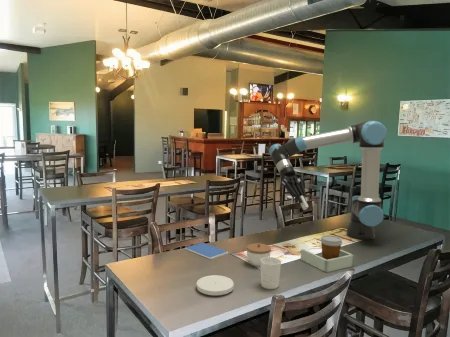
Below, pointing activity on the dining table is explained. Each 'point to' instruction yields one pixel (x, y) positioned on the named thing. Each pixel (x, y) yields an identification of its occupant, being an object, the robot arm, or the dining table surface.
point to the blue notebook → (206, 250)
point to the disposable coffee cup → (330, 246)
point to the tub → (328, 261)
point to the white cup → (270, 272)
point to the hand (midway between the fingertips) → (305, 208)
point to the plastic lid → (215, 285)
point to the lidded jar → (257, 253)
